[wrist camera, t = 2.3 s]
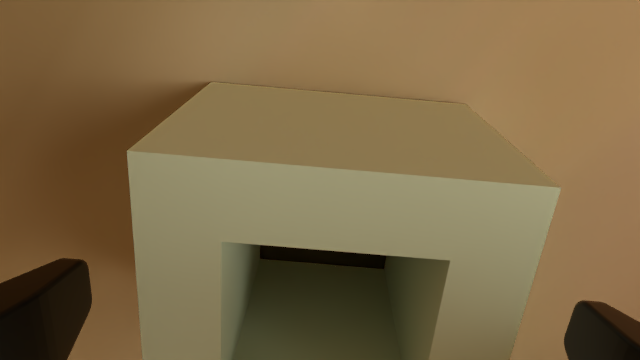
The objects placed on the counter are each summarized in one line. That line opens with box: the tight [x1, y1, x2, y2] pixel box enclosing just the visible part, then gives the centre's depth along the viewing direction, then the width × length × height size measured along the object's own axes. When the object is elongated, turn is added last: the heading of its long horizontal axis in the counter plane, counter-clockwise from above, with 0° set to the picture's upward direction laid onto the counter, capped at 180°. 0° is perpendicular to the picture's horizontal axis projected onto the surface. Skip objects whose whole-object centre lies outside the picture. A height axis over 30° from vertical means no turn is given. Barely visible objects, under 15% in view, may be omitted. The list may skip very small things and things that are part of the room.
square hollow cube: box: [127, 82, 561, 360], centre depth 10 cm, size 6×6×5 cm
